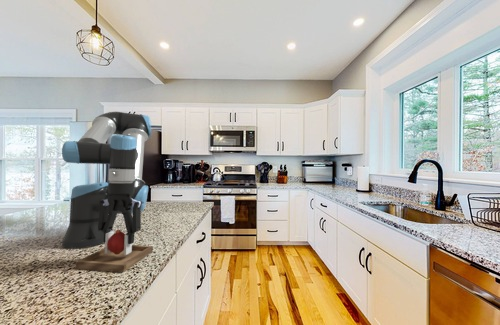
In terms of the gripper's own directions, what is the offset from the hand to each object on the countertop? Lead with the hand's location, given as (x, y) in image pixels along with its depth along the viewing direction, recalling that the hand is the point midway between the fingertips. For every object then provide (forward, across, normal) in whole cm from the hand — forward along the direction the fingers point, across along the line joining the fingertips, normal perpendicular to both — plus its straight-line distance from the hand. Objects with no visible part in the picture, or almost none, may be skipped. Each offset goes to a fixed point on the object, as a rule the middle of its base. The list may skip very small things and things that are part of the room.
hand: (118, 252), depth 68 cm
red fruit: (+1, 0, 0) cm, 1 cm away
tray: (+2, 0, 0) cm, 2 cm away
